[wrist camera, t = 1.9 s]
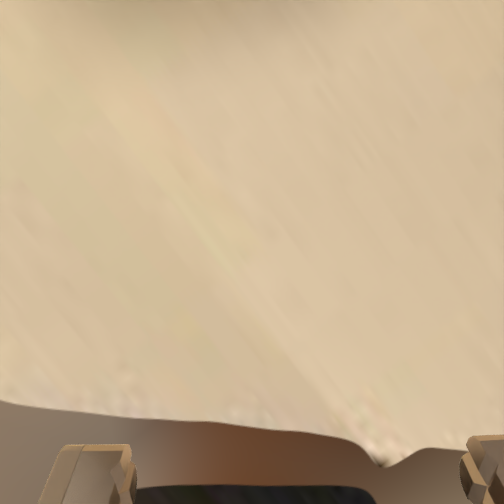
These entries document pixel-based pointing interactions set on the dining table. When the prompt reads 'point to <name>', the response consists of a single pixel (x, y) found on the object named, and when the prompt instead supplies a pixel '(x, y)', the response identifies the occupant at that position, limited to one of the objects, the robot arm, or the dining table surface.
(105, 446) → the robot arm
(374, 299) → the dining table surface
